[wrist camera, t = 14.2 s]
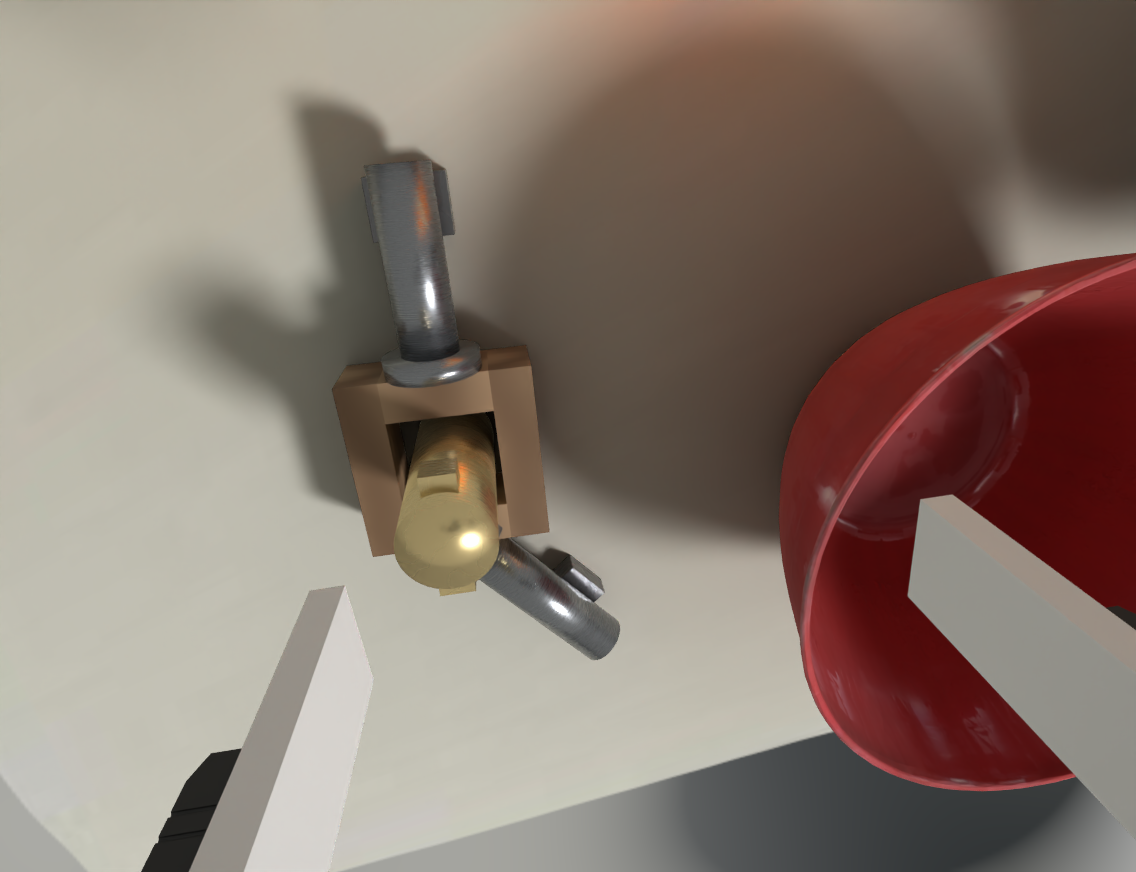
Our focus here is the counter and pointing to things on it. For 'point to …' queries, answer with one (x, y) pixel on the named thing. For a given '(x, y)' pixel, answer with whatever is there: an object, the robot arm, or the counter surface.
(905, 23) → the counter surface
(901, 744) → the mixing bowl
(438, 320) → the shaft
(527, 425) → the coupling block
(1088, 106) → the counter surface
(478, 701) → the counter surface
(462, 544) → the joint pin
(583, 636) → the shaft
